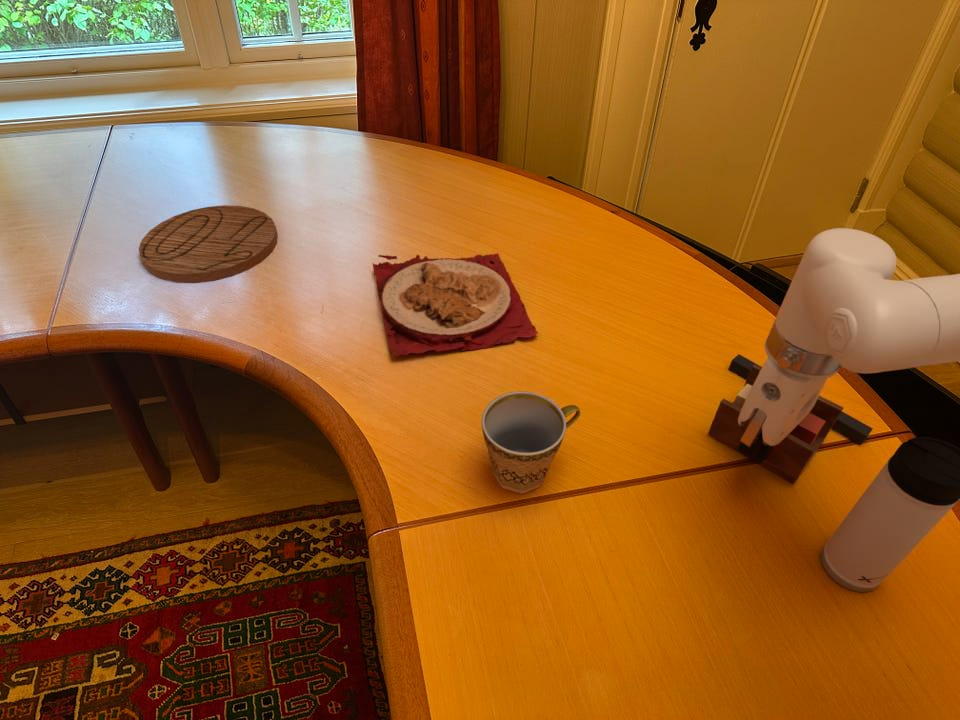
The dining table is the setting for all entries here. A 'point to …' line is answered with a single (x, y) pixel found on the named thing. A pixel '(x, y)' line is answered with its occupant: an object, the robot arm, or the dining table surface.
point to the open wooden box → (794, 447)
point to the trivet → (208, 244)
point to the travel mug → (894, 513)
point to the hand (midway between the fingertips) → (752, 453)
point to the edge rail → (843, 423)
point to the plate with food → (449, 304)
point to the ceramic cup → (524, 437)
